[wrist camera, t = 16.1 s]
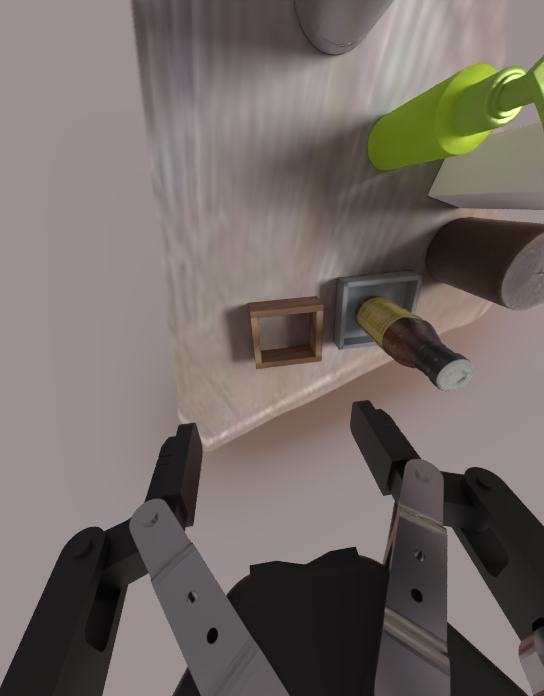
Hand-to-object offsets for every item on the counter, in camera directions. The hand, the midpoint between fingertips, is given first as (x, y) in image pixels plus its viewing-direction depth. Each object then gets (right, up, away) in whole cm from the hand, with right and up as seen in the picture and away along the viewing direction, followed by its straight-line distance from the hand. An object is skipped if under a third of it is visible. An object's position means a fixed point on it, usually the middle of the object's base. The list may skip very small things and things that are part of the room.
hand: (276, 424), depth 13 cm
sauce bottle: (+16, +10, +31) cm, 36 cm away
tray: (+17, +11, +31) cm, 37 cm away
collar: (+2, +7, +31) cm, 32 cm away
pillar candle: (+29, +19, +28) cm, 45 cm away
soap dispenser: (+15, +30, +20) cm, 39 cm away
